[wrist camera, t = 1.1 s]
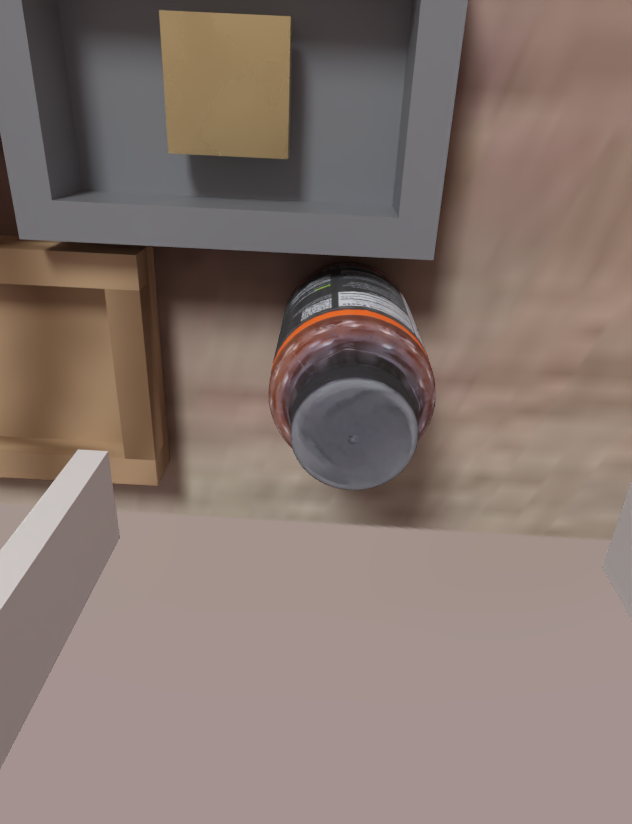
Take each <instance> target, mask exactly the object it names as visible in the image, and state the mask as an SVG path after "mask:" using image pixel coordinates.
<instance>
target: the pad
mask: <svg viewBox="0 0 632 824" xmlns="http://www.w3.org/2000/svg"><path fill="white" fill-rule="evenodd" d="M159 18H160V34H161V49H162V65H163V80H164V95H165V111H166V126H167V142H168V153H172V154H192V155H212V156H233V157H253V158H273V159H288V158H289V157H290V122H291V75H292V27H293V20H292V18H291V16H273V15H252V14H231V13H209V12H188V11H167V10H159Z"/></svg>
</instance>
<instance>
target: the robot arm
mask: <svg viewBox="0 0 632 824" xmlns="http://www.w3.org/2000/svg"><path fill="white" fill-rule="evenodd" d="M119 538H120V535H119V528H118V521H117V513H116V506H115V498H114V491H113V484H112V476H111V469H110V462H109V454H108V451H96V450H79V449H78V450H77V451H76V453H75V454H74V455H73V457H72V458H71V459H70V461H69V462H68V463H67V464H66V466H65V467H64V468H63V470H62V471H61V472H60V474H59V475H58V476H57V477H56V479H55V480H54V481H53V483H52V484H51V485H50V487H49V488H48V489H47V490H46V492H45V493H44V494H43V496H42V497H41V498H40V500H39V501H38V502H37V503H36V505H35V506H34V507H33V509H32V510H31V511H30V513H29V514H28V515H27V517H26V518H25V519H24V520H23V522H22V523H21V524H20V526H19V527H18V528H17V530H16V531H15V532H14V533H13V535H12V536H11V537H10V539H9V540H8V541H7V543H6V544H5V545H4V546H3V548H2V549H1V550H0V768H1V766H2V764H3V762H4V761H5V759H6V757H7V755H8V753H9V751H10V749H11V747H12V745H13V743H14V741H15V739H16V737H17V735H18V733H19V732H20V730H21V728H22V726H23V724H24V722H25V720H26V718H27V716H28V714H29V712H30V710H31V708H32V706H33V704H34V703H35V701H36V699H37V697H38V695H39V693H40V691H41V689H42V687H43V685H44V683H45V681H46V679H47V677H48V675H49V673H50V672H51V670H52V668H53V666H54V664H55V662H56V660H57V658H58V656H59V654H60V652H61V650H62V648H63V646H64V644H65V643H66V641H67V639H68V637H69V635H70V633H71V631H72V629H73V627H74V625H75V623H76V621H77V619H78V617H79V615H80V614H81V612H82V610H83V608H84V606H85V604H86V602H87V600H88V598H89V596H90V594H91V592H92V590H93V588H94V586H95V584H96V582H97V581H98V579H99V577H100V575H101V573H102V571H103V569H104V567H105V565H106V563H107V561H108V559H109V557H110V555H111V553H112V552H113V550H114V548H115V546H116V544H117V542H118V540H119ZM602 568H603V569H604V571H605V573H606V575H607V577H608V578H609V580H610V582H611V584H612V586H613V587H614V589H615V591H616V593H617V594H618V596H619V598H620V600H621V602H622V604H623V605H624V607H625V609H626V611H627V612H628V614H629V616H630V618H631V620H632V482H631V484H630V487H629V490H628V493H627V496H626V499H625V502H624V505H623V508H622V511H621V514H620V517H619V520H618V523H617V526H616V528H615V531H614V534H613V537H612V540H611V543H610V546H609V549H608V552H607V555H606V558H605V561H604V564H603V567H602Z"/></svg>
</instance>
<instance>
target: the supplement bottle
mask: <svg viewBox="0 0 632 824" xmlns="http://www.w3.org/2000/svg"><path fill="white" fill-rule="evenodd" d="M435 398H436V397H435V382H434V376H433V372H432V368H431V365H430V362H429V359H428V355H427V353H426V350H425V348H424V346H423V343H422V340H421V337H420V335H419V332H418V329H417V327H416V325H415V322H414V319H413V317H412V314H411V311H410V309H409V307H408V304H407V302H406V300H405V298H404V297H403V295H402V293H401V292H400V290H399V288H398V287H397V285H395V283H394V282H393V281H392V280H391V279H390V278H389V277H387V276H386V275H385V274H383V273H381V272H380V271H378V270H376V269H374V268H372V267H369V266H366V265H361V264H356V263H338V264H335V265H330V266H327V267H324V268H322V269H320V270H318V271H316V272H314V273H312V274H311V275H310V276H308V277H307V278H306V279H305V280H303V281H302V282H301V284H300V285H299V286H298V287H297V288H296V289H295V291H294V292H293V294H292V296H291V298H290V300H289V302H288V305H287V307H286V310H285V314H284V318H283V321H282V327H281V331H280V335H279V340H278V344H277V348H276V352H275V357H274V361H273V366H272V371H271V377H270V384H269V405H270V410H271V414H272V417H273V420H274V423H275V425H276V427H277V429H278V430H279V432H280V434H281V435H282V437H283V439H284V440H285V441H286V442H287V444H288V445H289V446H290V447H291V448H292V449H293V452H294V454H295V456H296V458H297V460H298V461H299V463H300V464H301V466H302V467H303V468H304V469H305V470H306V471H307V472H308V473H309V474H310V475H311V476H313V477H314V478H315V479H317V480H319V481H320V482H322V483H324V484H326V485H329V486H332V487H335V488H339V489H345V490H364V489H369V488H373V487H377V486H379V485H381V484H384V483H386V482H388V481H390V480H391V479H393V478H394V477H396V476H397V475H398V474H399V473H400V472H401V471H403V470H404V468H405V467H406V466H407V465H408V463H409V462H410V460H411V459H412V457H413V455H414V453H415V450H416V447H417V442H418V440H419V439H420V437H421V436H422V435H423V434H424V432H425V430H426V428H427V427H428V425H429V423H430V420H431V418H432V415H433V411H434V407H435Z"/></svg>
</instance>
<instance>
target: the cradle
mask: <svg viewBox="0 0 632 824" xmlns="http://www.w3.org/2000/svg"><path fill="white" fill-rule="evenodd" d="M467 4H468V0H0V134H1V140H2V145H3V151H4V156H5V162H6V167H7V173H8V178H9V184H10V190H11V195H12V201H13V206H14V212H15V217H16V223H17V228H18V234H19V239H25V240H45V241H64V242H84V243H104V244H123V245H143V246H163V247H182V248H202V249H222V250H241V251H261V252H281V253H300V254H320V255H340V256H359V257H379V258H399V259H418V260H434V253H435V245H436V238H437V230H438V223H439V215H440V208H441V200H442V193H443V185H444V178H445V170H446V163H447V155H448V147H449V140H450V132H451V125H452V117H453V110H454V102H455V95H456V87H457V80H458V72H459V65H460V57H461V50H462V42H463V34H464V27H465V19H466V12H467ZM159 10H167V11H188V12H209V13H231V14H252V15H273V16H291V18H292V20H293V27H292V75H291V122H290V157H289V158H288V159H273V158H253V157H233V156H212V155H192V154H172V153H168V142H167V126H166V111H165V95H164V80H163V65H162V49H161V34H160V18H159Z"/></svg>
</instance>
